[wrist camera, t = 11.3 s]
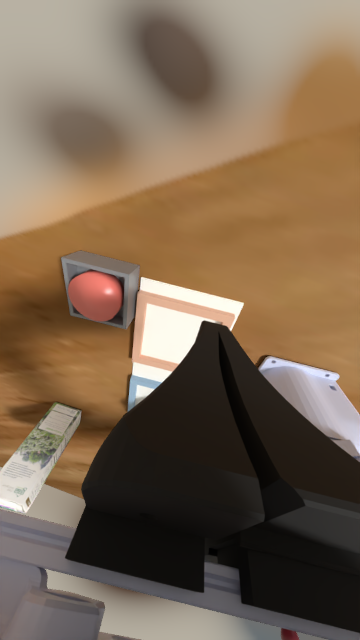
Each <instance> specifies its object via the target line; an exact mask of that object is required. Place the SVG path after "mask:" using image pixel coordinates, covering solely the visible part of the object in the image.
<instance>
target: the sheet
mask: <svg viewBox="0 0 360 640" xmlns="http://www.w3.org/2000/svg"><path fill="white" fill-rule="evenodd" d="M140 290H142V291H146V292H150V293H154V294H158V295H162V296H166V297H170V298H174V299H178V300H182V301H186V302H190V303H194V304H198V305H202V306H206V307H209V308H213V309H217V310H221V311H225V312H229V313H233V314H235V319H234V321H233V324H232V326H231V328H230V331H231V330H232V328H233V326H234V324H235V322H236V320H237V317H238V315H239V313H240V311H241V309H242V307H243V305H244V303H242V302H238V301H235V300H231V299H227V298H223V297H219V296H215V295H211V294H207V293H203V292H199V291H195V290H191V289H187V288H183V287H179V286H175V285H171V284H168V283H164V282H160V281H156V280H152V279H148V278H144V277H141V284H140ZM204 320H205V321H209V322H213V323H217V324H221V322H219V321H215V320H211V319H207V318H203V317H199V316H195V315H191V314H187V313H183V312H179V311H176V310H172V309H168V308H164V307H160V306H156V305H152V304H148V303H147V309H146V317H145V325H144V334H143V342H142V350H141V354H142V355H145V356H149V357H153V358H157V359H161V360H165V361H169V362H173V363H177V364H180V363H181V361H182V360H183V359H184V357H185V356H186V355H187V353H188V352H189V350H190V349H191V347H192V346H193V344H194V343H195V340H196V337H197V334H198V331H199V328H200V325H201V322H202V321H204ZM171 373H172V371H168V370H164V369H160V368H156V367H152V366H148V365H144V364H140V363H136V362H133V371H132V375H135V376H138V377H142V378H146V379H150V380H154V381H158V382H163V381H164V380H165V379H166V378H167V377H168V376H169V375H170V374H171ZM153 390H155V389H152V388H148V387H144V386H140V385H137V391H136V399H135V406H136V405H137V404H138V403H139V402H141V401H142V400H143V399H144V398H146V397H147V396H148V395H149V394H150V393H151V392H152V391H153Z"/></svg>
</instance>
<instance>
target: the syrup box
mask: <svg viewBox="0 0 360 640" xmlns="http://www.w3.org/2000/svg"><path fill="white" fill-rule="evenodd" d="M80 420H81V410H78V409H75V408H72V407H70V406H67V405H64V404H61V403H58V402H55V403H54V404H53V405H52V407H51V408H50V409H49V410H48V412H47V413H46V414H45V415H44V417H43V418H42V419H41V420H40V422H39V423H38V424H37V425H36V427H35V428H34V429H33V430H32V432H31V433H30V434H29V435H28V437H27V438H26V439H25V440H24V442H23V443H22V444H21V445H20V447H19V448H18V449H17V450H16V452H15V453H14V454H13V455H12V457H11V458H10V459H9V460H8V462H7V463H6V464H5V465H4V467H3V468H2V469H1V470H0V507H1V508H5V509H9V510H13V511H16V512H20V513H24V514H25V513H26V512H27V511H28V509H29V508H30V506H31V504H32V503H33V501H34V499H35V498H36V496H37V495H38V493H39V491H40V489H41V488H42V486H43V484H44V483H45V481H46V479H47V478H48V476H49V474H50V473H51V471H52V469H53V468H54V466H55V464H56V463H57V461H58V459H59V458H60V456H61V454H62V453H63V451H64V449H65V447H66V446H67V444H68V443H69V441H70V439H71V438H72V436H73V434H74V433H75V431H76V429H77V428H78V426H79V424H80Z"/></svg>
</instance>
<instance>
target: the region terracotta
mask: <svg viewBox="0 0 360 640" xmlns="http://www.w3.org/2000/svg"><path fill="white" fill-rule="evenodd" d="M147 303H148V304H152V305H156V306H160V307H164V308H168V309H172V310H176V311H179V312H183V313H187V314H191V315H195V316H199V317H203V318H207V319H211V320H215V321H219V322H221V325H225V326H227V327H228V328H229V330H230V328H231V326H232V324H233V321H234V319H235V314H233V313H229V312H225V311H221V310H217V309H213V308H209V307H206V306H202V305H198V304H194V303H190V302H186V301H182V300H178V299H174V298H170V297H166V296H162V295H158V294H154V293H150V292H146V291H142V290H139V292H138V294H137V306H136V318H135V330H134V342H133V353H132V362H136V363H140V364H144V365H148V366H152V367H156V368H160V369H164V370H168V371H172V372H173V371H174V369H175V368H176V367H177V366H178V365H179V364H177V363H173V362H169V361H165V360H161V359H157V358H153V357H149V356H145V355H142V354H141V350H142V342H143V334H144V325H145V317H146V309H147Z"/></svg>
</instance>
